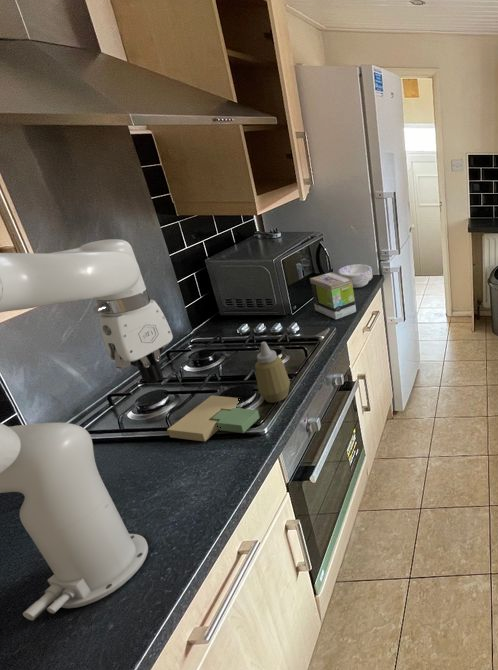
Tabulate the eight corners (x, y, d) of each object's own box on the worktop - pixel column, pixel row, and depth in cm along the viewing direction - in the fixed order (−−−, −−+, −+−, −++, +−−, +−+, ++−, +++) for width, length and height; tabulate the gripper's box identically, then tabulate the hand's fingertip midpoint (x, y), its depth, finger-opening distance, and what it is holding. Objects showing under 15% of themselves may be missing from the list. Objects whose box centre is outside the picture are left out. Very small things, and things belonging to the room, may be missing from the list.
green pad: (243, 433, 106) (241, 425, 105) (210, 429, 108) (207, 421, 107) (259, 417, 112) (257, 410, 111) (227, 414, 113) (225, 406, 112)
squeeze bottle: (279, 407, 116) (265, 352, 109) (254, 403, 117) (238, 348, 110) (298, 390, 123) (286, 337, 116) (274, 386, 125) (261, 334, 118)
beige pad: (205, 441, 104) (202, 433, 103) (169, 437, 105) (166, 429, 104) (245, 405, 116) (243, 398, 115) (214, 402, 118) (211, 395, 117)
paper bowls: (371, 289, 195) (369, 273, 192) (337, 291, 192) (334, 275, 189) (375, 277, 208) (373, 263, 205) (343, 279, 206) (341, 264, 203)
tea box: (357, 311, 172) (352, 278, 167) (335, 320, 165) (329, 286, 159) (336, 302, 181) (330, 271, 175) (314, 310, 173) (308, 277, 167)
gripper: (101, 319, 75) (135, 402, 82) (174, 289, 89) (198, 362, 96) (66, 316, 76) (102, 399, 83) (144, 287, 90) (170, 360, 97)
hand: (153, 379), depth 89 cm, fingers closed
